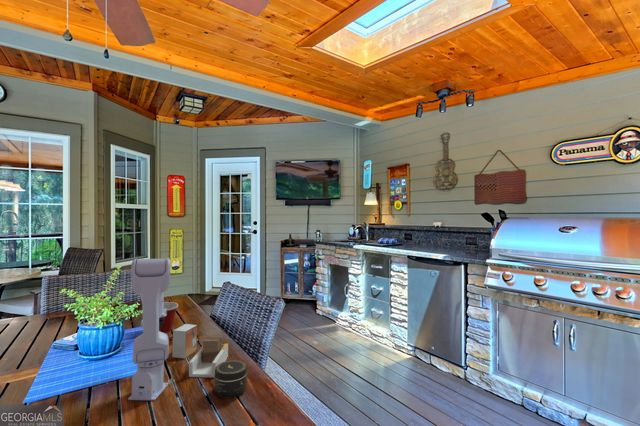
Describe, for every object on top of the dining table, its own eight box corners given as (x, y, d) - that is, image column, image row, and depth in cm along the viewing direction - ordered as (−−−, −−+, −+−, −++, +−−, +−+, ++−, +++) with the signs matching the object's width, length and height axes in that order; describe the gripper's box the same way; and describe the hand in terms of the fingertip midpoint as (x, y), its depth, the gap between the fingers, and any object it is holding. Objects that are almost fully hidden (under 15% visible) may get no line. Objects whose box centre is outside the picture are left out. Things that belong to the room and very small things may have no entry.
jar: (230, 403, 98) (231, 377, 98) (206, 393, 102) (207, 368, 103) (253, 388, 106) (253, 364, 106) (230, 379, 111) (230, 357, 111)
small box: (185, 359, 126) (185, 331, 126) (171, 357, 127) (172, 330, 127) (196, 350, 134) (197, 324, 134) (184, 349, 135) (185, 323, 135)
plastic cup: (155, 336, 147) (156, 309, 147) (149, 329, 156) (150, 304, 156) (180, 331, 154) (181, 305, 154) (174, 325, 163) (174, 300, 163)
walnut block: (217, 362, 121) (218, 341, 121) (202, 362, 121) (203, 340, 121) (221, 356, 126) (222, 336, 126) (207, 356, 126) (207, 335, 126)
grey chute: (215, 377, 112) (215, 362, 112) (188, 377, 112) (189, 361, 112) (227, 356, 128) (228, 343, 128) (204, 356, 128) (204, 343, 128)
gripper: (156, 307, 110) (155, 348, 110) (174, 296, 124) (174, 332, 124) (134, 307, 110) (134, 348, 110) (156, 296, 124) (155, 332, 124)
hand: (153, 339), depth 117 cm, fingers closed
